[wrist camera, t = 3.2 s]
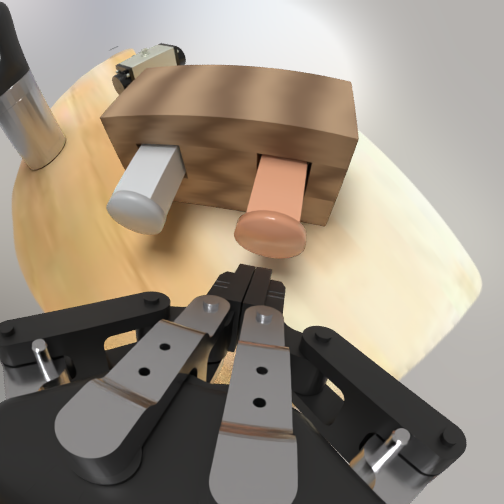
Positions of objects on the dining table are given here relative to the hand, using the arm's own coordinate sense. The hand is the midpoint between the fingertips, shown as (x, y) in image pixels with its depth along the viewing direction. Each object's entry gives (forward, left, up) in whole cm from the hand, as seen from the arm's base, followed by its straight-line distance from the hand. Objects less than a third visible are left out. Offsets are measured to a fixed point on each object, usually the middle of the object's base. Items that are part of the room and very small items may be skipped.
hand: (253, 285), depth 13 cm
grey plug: (-12, +12, -10) cm, 19 cm away
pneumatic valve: (-24, +33, -14) cm, 43 cm away
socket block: (-6, +18, -14) cm, 24 cm away
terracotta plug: (0, +12, -10) cm, 15 cm away
